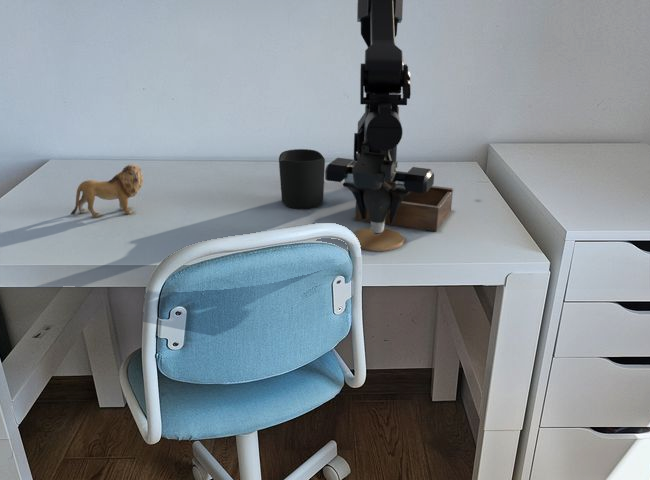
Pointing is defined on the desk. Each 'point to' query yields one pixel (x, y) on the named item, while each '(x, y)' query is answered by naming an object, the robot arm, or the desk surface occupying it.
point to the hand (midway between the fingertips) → (377, 220)
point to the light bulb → (378, 206)
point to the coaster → (379, 239)
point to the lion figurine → (110, 190)
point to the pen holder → (302, 178)
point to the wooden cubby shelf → (420, 209)
